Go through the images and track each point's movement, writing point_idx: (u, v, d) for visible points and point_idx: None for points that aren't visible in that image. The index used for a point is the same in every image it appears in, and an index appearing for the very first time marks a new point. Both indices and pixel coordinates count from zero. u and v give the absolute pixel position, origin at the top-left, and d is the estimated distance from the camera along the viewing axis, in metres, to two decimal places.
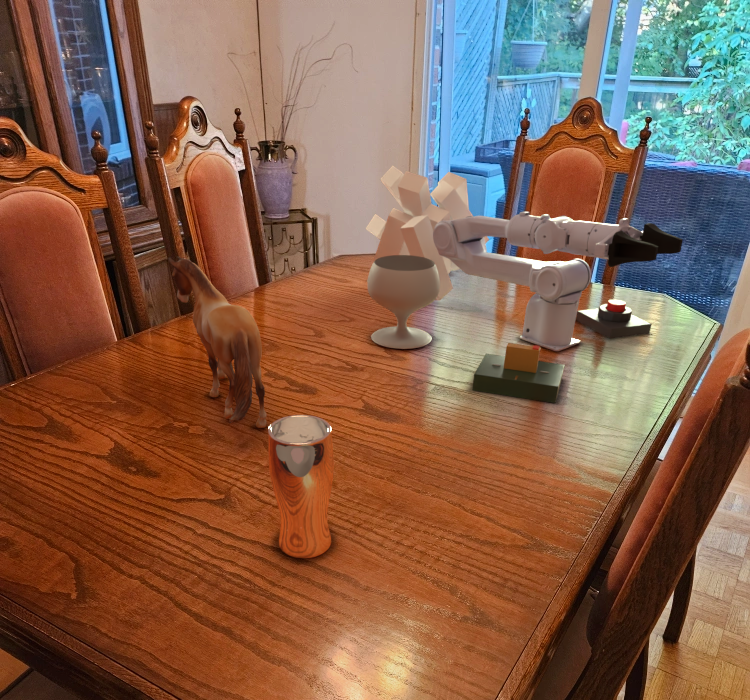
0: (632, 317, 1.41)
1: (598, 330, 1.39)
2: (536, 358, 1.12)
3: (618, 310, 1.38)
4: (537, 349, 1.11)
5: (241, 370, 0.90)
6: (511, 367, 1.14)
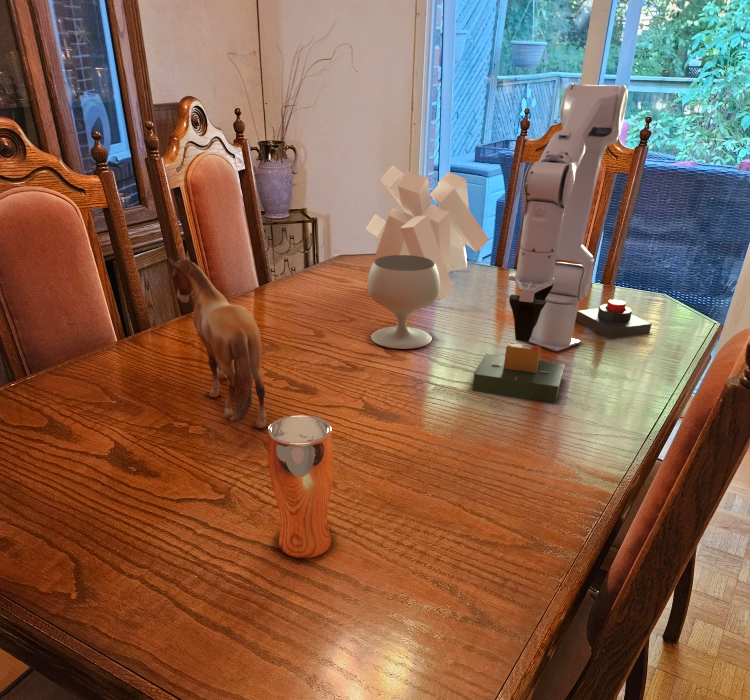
0: (632, 317, 1.41)
1: (598, 330, 1.39)
2: (536, 358, 1.12)
3: (618, 310, 1.38)
4: (537, 349, 1.11)
5: (241, 370, 0.90)
6: (511, 367, 1.14)
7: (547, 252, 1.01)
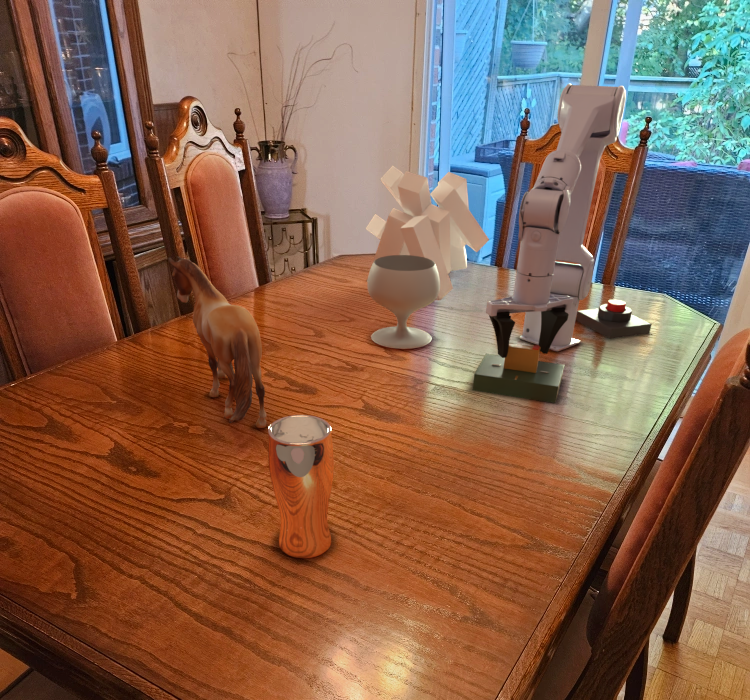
0: (632, 317, 1.41)
1: (598, 330, 1.39)
2: (536, 358, 1.12)
3: (618, 310, 1.38)
4: (537, 349, 1.11)
5: (241, 370, 0.90)
6: (511, 367, 1.14)
7: None
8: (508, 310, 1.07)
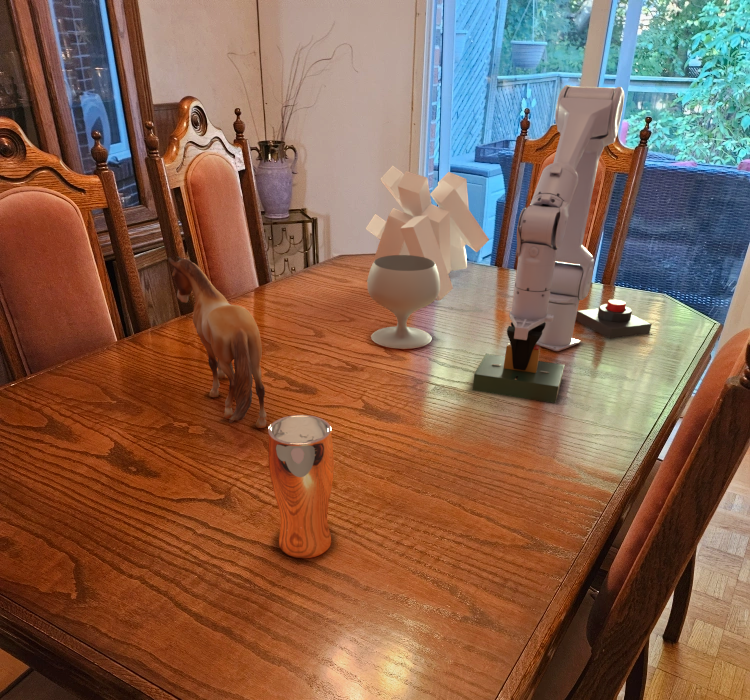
0: (632, 317, 1.41)
1: (598, 330, 1.39)
2: (536, 358, 1.12)
3: (618, 310, 1.38)
4: (537, 349, 1.11)
5: (241, 370, 0.90)
6: (511, 367, 1.14)
7: None
8: None
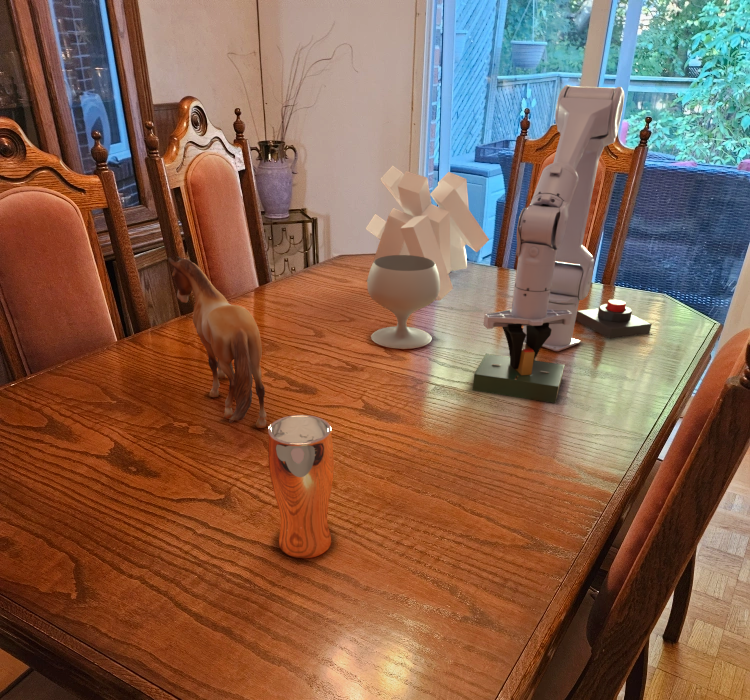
0: (632, 317, 1.41)
1: (598, 330, 1.39)
2: (522, 360, 1.11)
3: (618, 310, 1.38)
4: (524, 351, 1.10)
5: (241, 370, 0.90)
6: None
7: None
8: (505, 323, 1.09)
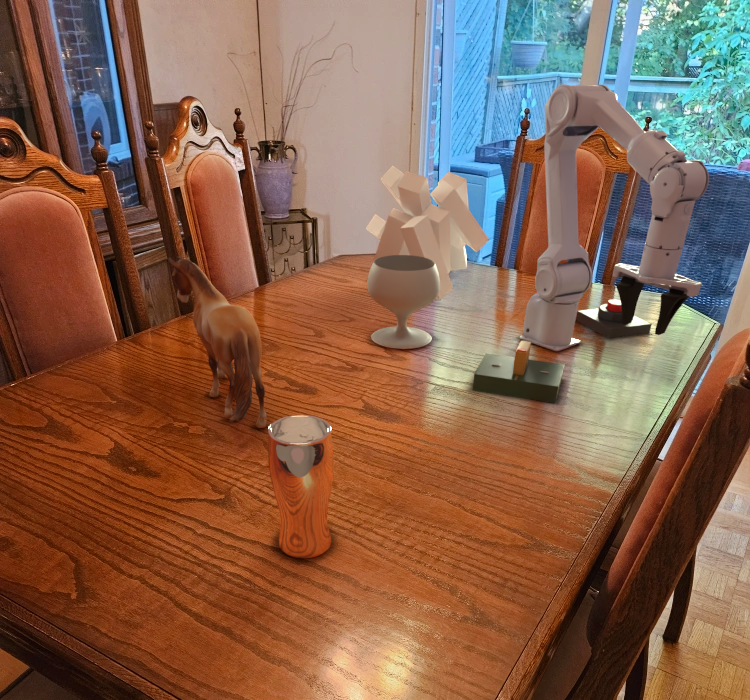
0: None
1: (598, 330, 1.39)
2: None
3: (618, 310, 1.38)
4: (517, 350, 1.10)
5: (241, 370, 0.90)
6: None
7: None
8: (632, 277, 1.12)
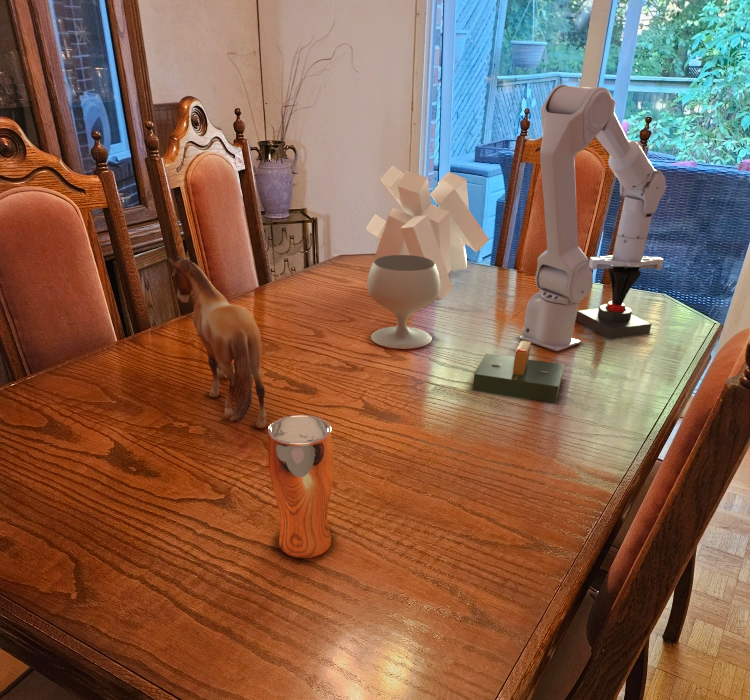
0: (632, 317, 1.41)
1: (598, 330, 1.39)
2: None
3: (618, 311, 1.38)
4: (517, 350, 1.10)
5: (241, 370, 0.90)
6: None
7: None
8: (607, 266, 1.34)
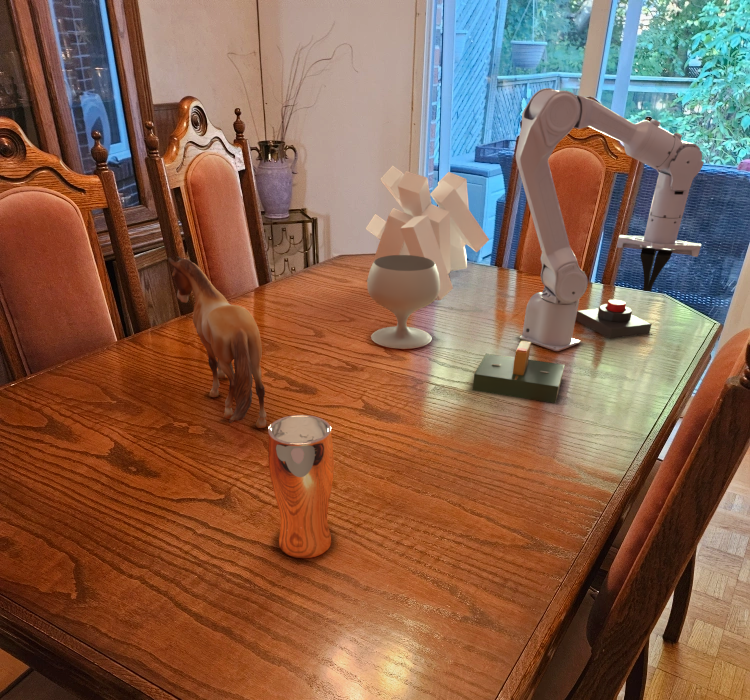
0: (632, 317, 1.41)
1: (598, 330, 1.39)
2: None
3: (618, 310, 1.38)
4: (517, 350, 1.10)
5: (241, 370, 0.90)
6: None
7: None
8: (635, 246, 1.26)
